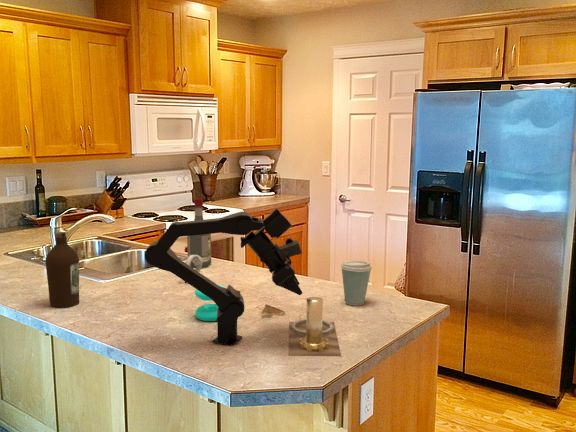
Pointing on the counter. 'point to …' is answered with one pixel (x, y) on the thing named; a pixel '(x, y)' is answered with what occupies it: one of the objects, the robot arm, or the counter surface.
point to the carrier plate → (299, 331)
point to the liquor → (199, 239)
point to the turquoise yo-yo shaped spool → (206, 308)
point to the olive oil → (62, 274)
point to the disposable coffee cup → (355, 281)
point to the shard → (271, 312)
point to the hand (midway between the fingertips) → (299, 289)
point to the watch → (195, 262)
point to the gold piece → (314, 327)
